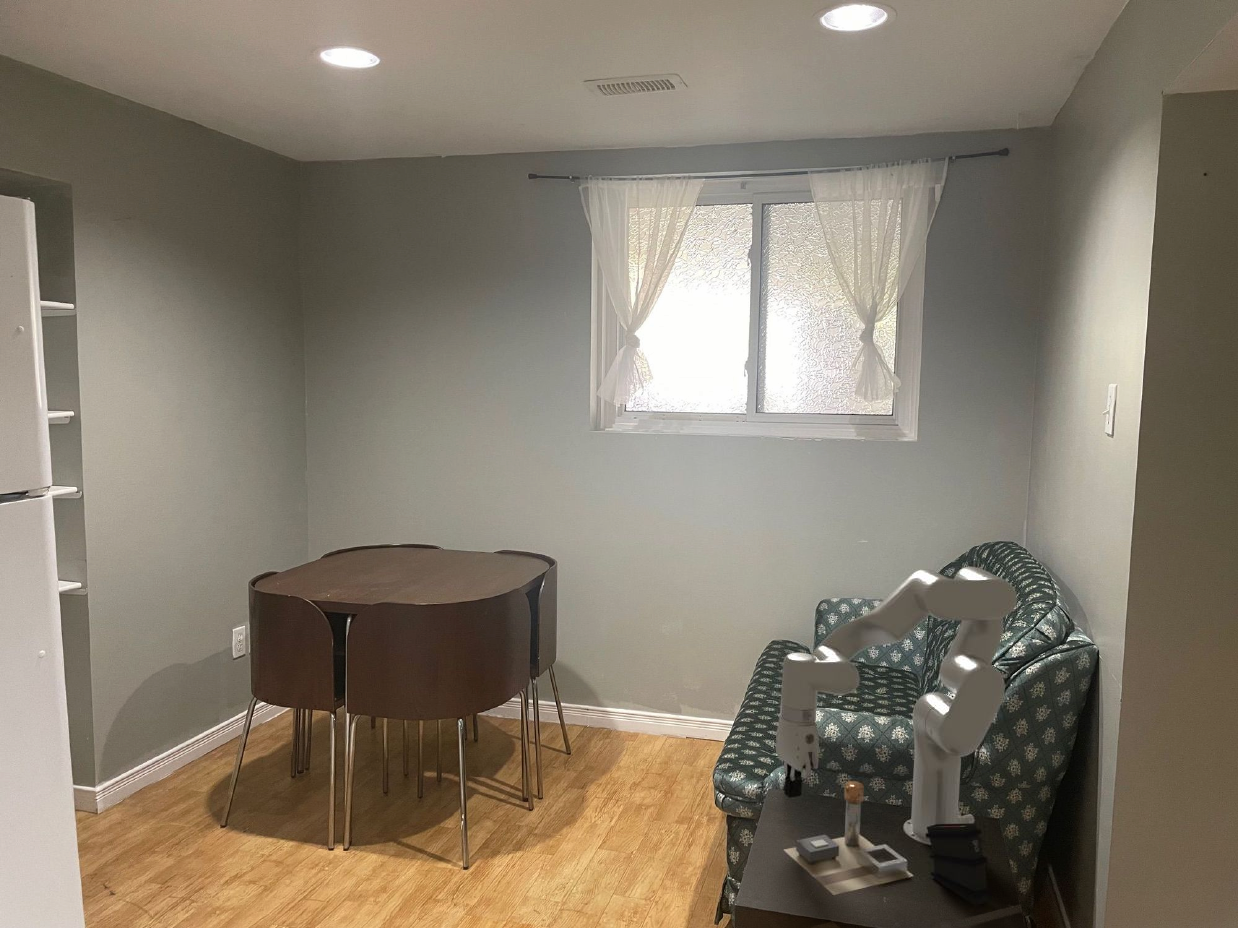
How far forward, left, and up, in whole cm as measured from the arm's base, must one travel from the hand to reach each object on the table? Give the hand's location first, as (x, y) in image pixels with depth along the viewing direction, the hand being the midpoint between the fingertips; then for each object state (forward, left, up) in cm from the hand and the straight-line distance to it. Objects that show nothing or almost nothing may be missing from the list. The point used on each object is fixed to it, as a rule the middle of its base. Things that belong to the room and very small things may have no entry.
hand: (792, 794), depth 202 cm
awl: (-11, +7, -10) cm, 16 cm away
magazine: (-20, +28, -11) cm, 36 cm away
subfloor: (-5, +13, -11) cm, 17 cm away
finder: (-1, +9, -10) cm, 13 cm away
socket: (-11, +17, -10) cm, 22 cm away
